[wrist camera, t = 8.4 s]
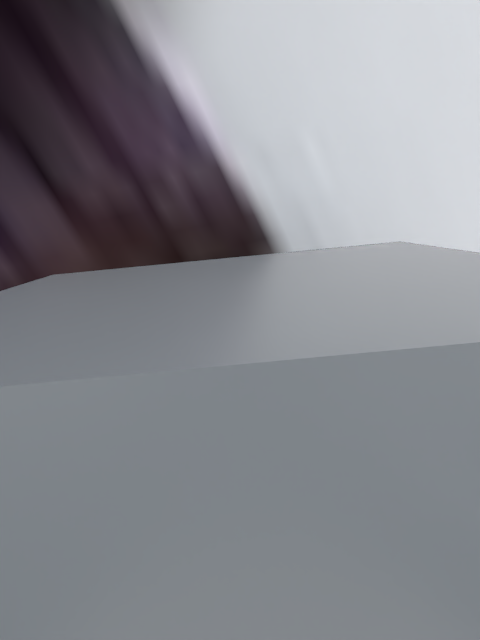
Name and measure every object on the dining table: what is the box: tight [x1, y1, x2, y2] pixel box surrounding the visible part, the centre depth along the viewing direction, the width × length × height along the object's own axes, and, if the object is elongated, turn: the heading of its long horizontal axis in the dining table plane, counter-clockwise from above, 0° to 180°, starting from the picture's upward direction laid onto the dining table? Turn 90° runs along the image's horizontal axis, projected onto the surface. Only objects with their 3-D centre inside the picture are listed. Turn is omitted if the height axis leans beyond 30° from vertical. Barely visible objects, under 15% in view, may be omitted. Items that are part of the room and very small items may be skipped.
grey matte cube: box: [0, 242, 480, 640], centre depth 9 cm, size 10×10×9 cm
